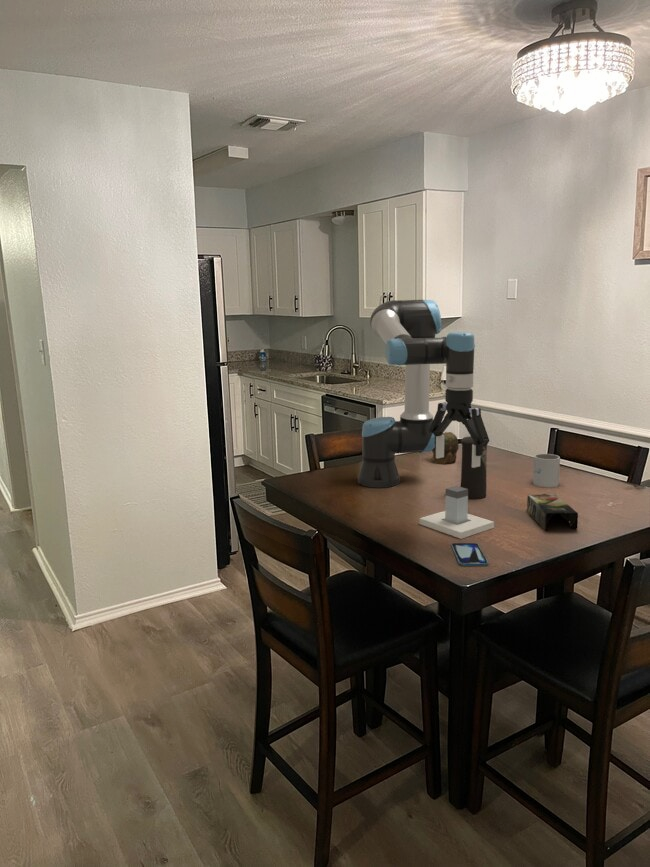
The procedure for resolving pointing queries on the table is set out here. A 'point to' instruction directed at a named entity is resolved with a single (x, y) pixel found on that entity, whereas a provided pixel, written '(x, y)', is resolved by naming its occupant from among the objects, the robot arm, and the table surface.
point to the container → (473, 470)
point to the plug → (456, 505)
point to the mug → (546, 470)
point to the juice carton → (550, 509)
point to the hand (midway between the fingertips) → (457, 462)
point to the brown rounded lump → (447, 449)
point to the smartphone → (469, 554)
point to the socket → (459, 531)
